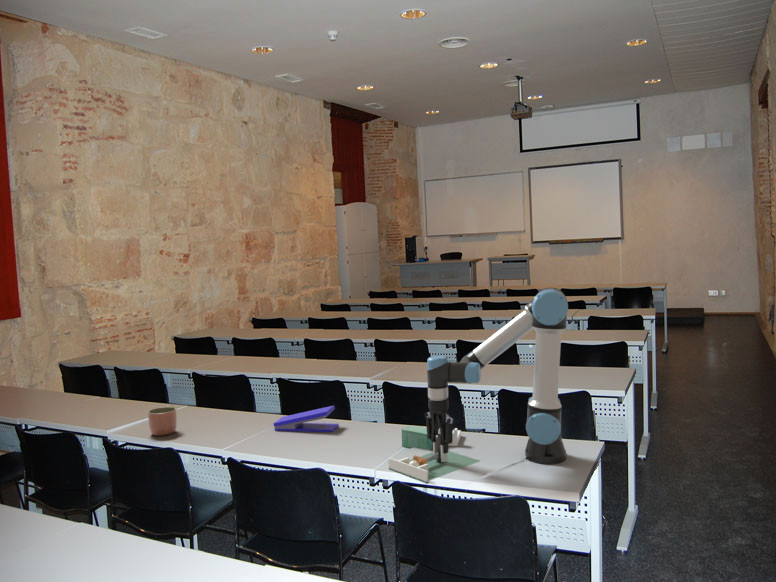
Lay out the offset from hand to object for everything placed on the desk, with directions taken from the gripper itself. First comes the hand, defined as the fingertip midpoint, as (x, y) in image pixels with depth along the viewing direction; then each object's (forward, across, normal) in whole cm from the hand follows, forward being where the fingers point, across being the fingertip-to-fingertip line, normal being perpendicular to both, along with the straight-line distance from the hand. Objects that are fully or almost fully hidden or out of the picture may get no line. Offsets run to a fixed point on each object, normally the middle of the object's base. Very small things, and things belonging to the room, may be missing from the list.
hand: (440, 459), depth 234 cm
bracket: (+2, +15, -21) cm, 26 cm away
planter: (+2, +123, +57) cm, 136 cm away
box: (+2, +20, -9) cm, 22 cm away
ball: (-1, 0, +14) cm, 14 cm away
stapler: (+2, +79, +8) cm, 79 cm away
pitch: (+2, 0, +3) cm, 3 cm away
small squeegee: (0, 0, +5) cm, 5 cm away
